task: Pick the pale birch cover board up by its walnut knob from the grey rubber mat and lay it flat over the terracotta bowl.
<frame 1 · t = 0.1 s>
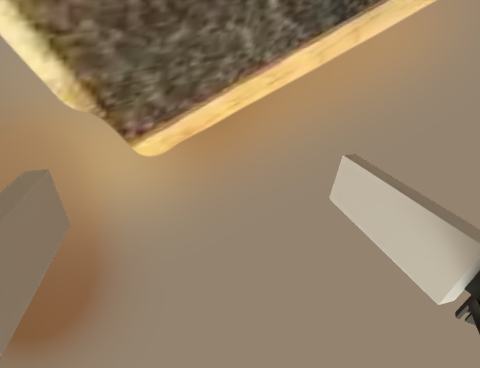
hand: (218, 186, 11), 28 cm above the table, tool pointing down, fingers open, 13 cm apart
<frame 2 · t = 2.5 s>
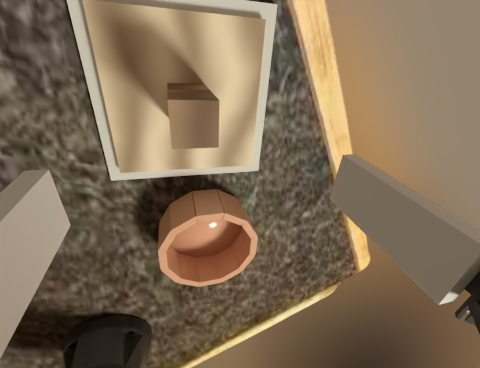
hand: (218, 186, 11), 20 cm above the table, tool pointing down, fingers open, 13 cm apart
bowl: (205, 226, 39), on the table
mat: (186, 99, 28), on the table
cover board: (186, 100, 27), point 1 cm above the table, touching mat
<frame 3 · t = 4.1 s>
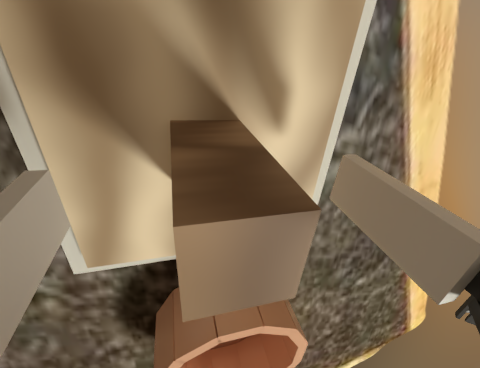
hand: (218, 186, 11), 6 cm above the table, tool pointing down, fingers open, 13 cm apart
bowl: (223, 310, 26), on the table
mat: (203, 143, 16), on the table
cover board: (204, 146, 15), point 1 cm above the table, touching mat
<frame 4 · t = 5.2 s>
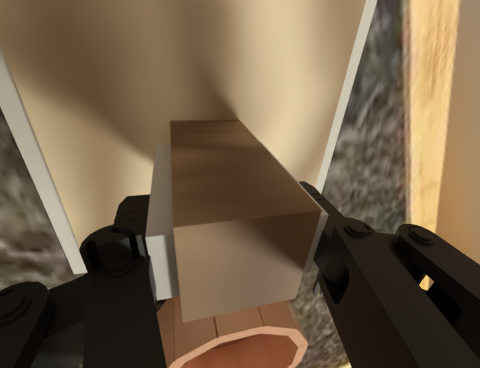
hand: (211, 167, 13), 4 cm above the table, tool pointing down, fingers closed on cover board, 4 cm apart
bowl: (223, 310, 26), on the table
mat: (203, 143, 16), on the table
cover board: (204, 146, 15), point 1 cm above the table, touching gripper, mat
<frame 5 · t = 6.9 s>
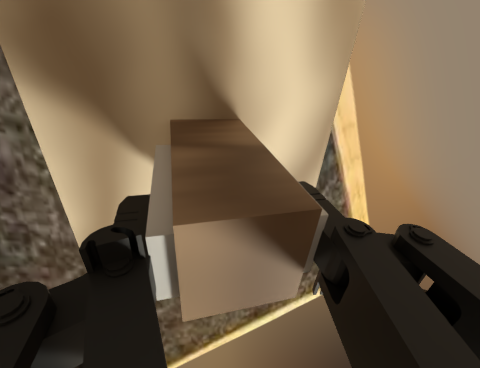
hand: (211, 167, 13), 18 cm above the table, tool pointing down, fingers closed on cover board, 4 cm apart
cover board: (204, 145, 15), point 15 cm above the table, touching gripper
when the fingers open (11 cm above the table, at t = 10.1 s): cover board drops 2 cm, resting on bowl.
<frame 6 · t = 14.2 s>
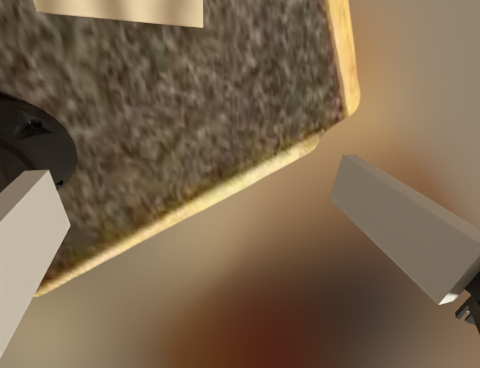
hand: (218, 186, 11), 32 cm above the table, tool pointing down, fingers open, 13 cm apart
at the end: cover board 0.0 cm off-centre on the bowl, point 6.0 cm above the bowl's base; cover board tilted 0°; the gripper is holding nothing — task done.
